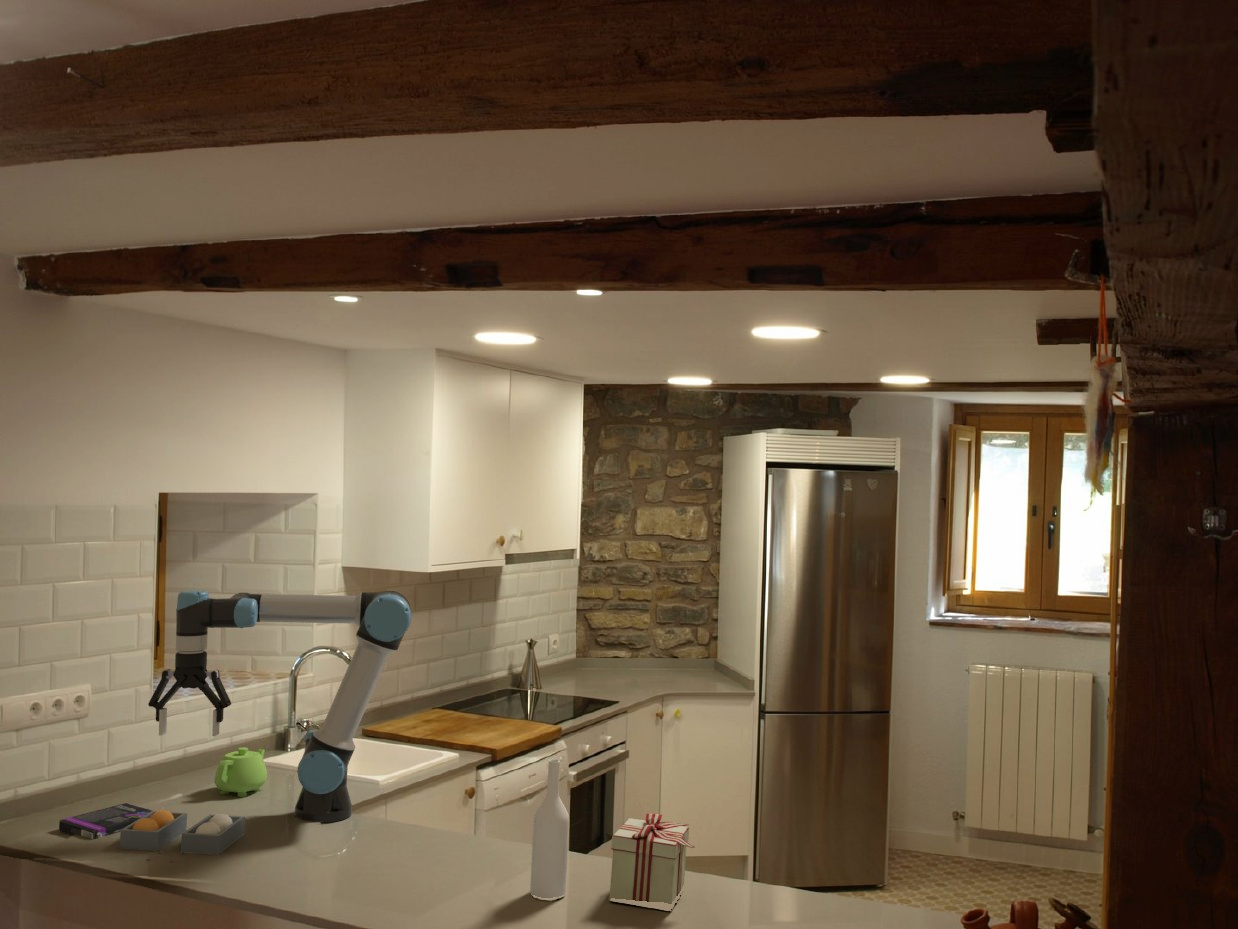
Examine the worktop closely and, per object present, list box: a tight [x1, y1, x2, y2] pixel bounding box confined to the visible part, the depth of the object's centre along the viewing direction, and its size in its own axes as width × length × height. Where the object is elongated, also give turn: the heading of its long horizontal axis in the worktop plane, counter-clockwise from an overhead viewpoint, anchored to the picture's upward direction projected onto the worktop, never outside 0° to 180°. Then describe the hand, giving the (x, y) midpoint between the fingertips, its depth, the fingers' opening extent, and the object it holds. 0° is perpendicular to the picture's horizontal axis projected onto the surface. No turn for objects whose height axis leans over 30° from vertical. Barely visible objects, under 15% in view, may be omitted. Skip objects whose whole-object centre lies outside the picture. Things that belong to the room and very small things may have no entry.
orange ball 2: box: [150, 809, 174, 829], centre depth 262 cm, size 6×6×6 cm
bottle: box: [529, 759, 570, 898], centre depth 237 cm, size 8×8×30 cm
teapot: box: [214, 746, 268, 798], centre depth 304 cm, size 20×13×13 cm
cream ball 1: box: [195, 822, 221, 835], centre depth 254 cm, size 6×6×6 cm
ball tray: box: [119, 810, 246, 863], centre depth 255 cm, size 26×22×5 cm
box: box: [58, 802, 153, 840], centre depth 268 cm, size 14×4×20 cm
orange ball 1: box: [132, 818, 158, 831], centre depth 255 cm, size 6×6×6 cm
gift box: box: [609, 813, 696, 904], centre depth 238 cm, size 17×18×17 cm
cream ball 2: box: [209, 813, 233, 832], centre depth 261 cm, size 6×6×6 cm
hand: (189, 734), depth 267 cm, fingers open, 13 cm apart
